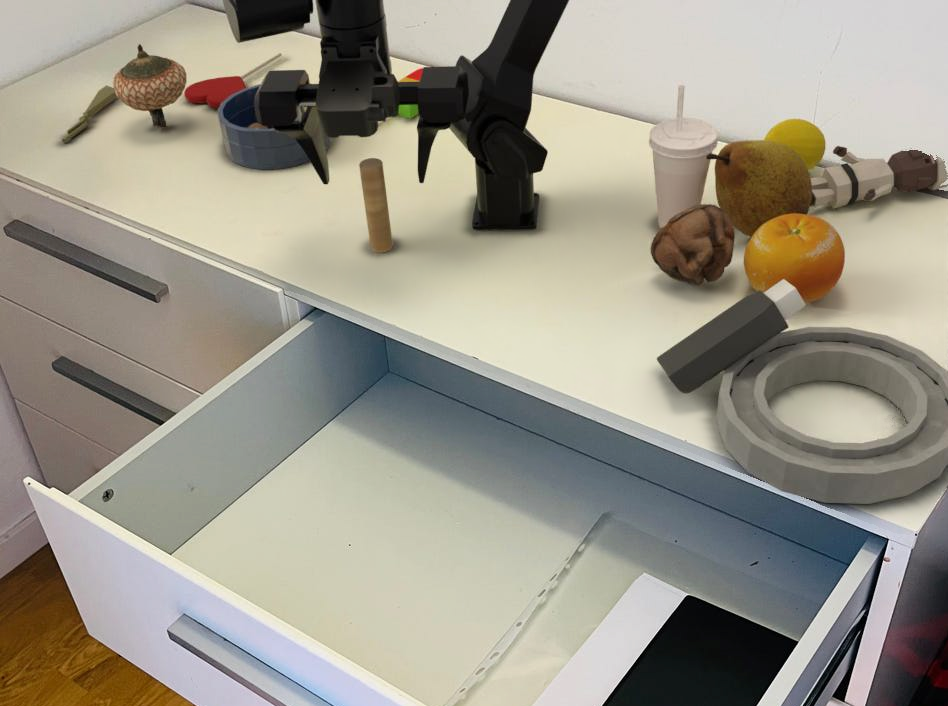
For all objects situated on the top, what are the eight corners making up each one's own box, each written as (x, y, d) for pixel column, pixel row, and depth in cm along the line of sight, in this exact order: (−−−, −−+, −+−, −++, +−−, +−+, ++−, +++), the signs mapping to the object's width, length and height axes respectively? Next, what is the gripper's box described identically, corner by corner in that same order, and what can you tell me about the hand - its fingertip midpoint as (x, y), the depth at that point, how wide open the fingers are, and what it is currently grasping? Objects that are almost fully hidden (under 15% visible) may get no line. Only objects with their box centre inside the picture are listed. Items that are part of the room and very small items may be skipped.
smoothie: (667, 201, 119) (675, 67, 109) (722, 219, 116) (736, 83, 106) (632, 229, 116) (637, 92, 106) (687, 248, 113) (698, 110, 103)
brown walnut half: (676, 256, 101) (651, 216, 104) (669, 311, 108) (645, 273, 110) (756, 228, 102) (729, 190, 104) (743, 285, 109) (719, 247, 111)
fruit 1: (753, 185, 120) (814, 184, 124) (786, 157, 115) (849, 157, 119) (740, 137, 121) (801, 137, 125) (771, 107, 116) (834, 108, 120)
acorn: (211, 122, 138) (192, 38, 131) (159, 151, 133) (136, 66, 126) (164, 106, 142) (143, 23, 135) (112, 134, 137) (87, 50, 130)
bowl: (322, 169, 128) (316, 130, 125) (214, 170, 129) (205, 132, 126) (341, 117, 137) (335, 80, 134) (239, 119, 138) (232, 82, 135)
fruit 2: (805, 165, 115) (746, 78, 108) (839, 211, 109) (778, 123, 102) (732, 219, 119) (669, 139, 111) (760, 268, 112) (696, 186, 105)
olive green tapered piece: (107, 91, 144) (106, 84, 144) (129, 99, 144) (128, 92, 143) (44, 136, 137) (43, 130, 136) (68, 145, 136) (66, 138, 135)
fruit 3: (713, 245, 106) (772, 189, 100) (777, 247, 111) (837, 193, 104) (750, 325, 103) (812, 272, 97) (814, 323, 108) (877, 273, 102)
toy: (785, 152, 117) (929, 118, 117) (781, 190, 120) (920, 158, 121) (817, 203, 112) (967, 167, 112) (811, 241, 116) (956, 207, 116)
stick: (391, 252, 115) (380, 169, 109) (369, 252, 115) (357, 169, 109) (394, 240, 117) (384, 157, 110) (372, 240, 117) (361, 157, 111)
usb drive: (668, 376, 93) (686, 402, 94) (797, 288, 91) (814, 316, 92) (655, 358, 98) (672, 383, 99) (778, 273, 96) (794, 300, 97)
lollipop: (256, 52, 151) (177, 99, 142) (255, 45, 151) (175, 92, 142) (305, 63, 148) (227, 112, 139) (304, 56, 147) (226, 105, 138)
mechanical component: (701, 484, 89) (704, 454, 87) (734, 344, 101) (737, 315, 99) (953, 521, 84) (962, 491, 82) (955, 369, 97) (963, 340, 95)
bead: (271, 155, 130) (266, 130, 128) (244, 156, 130) (239, 130, 128) (276, 142, 132) (271, 117, 130) (250, 143, 132) (245, 118, 130)
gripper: (223, 59, 95) (260, 227, 106) (449, 53, 94) (463, 225, 104) (253, 5, 103) (284, 167, 114) (463, -1, 101) (474, 164, 112)
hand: (374, 181), depth 111 cm, fingers open, 9 cm apart
